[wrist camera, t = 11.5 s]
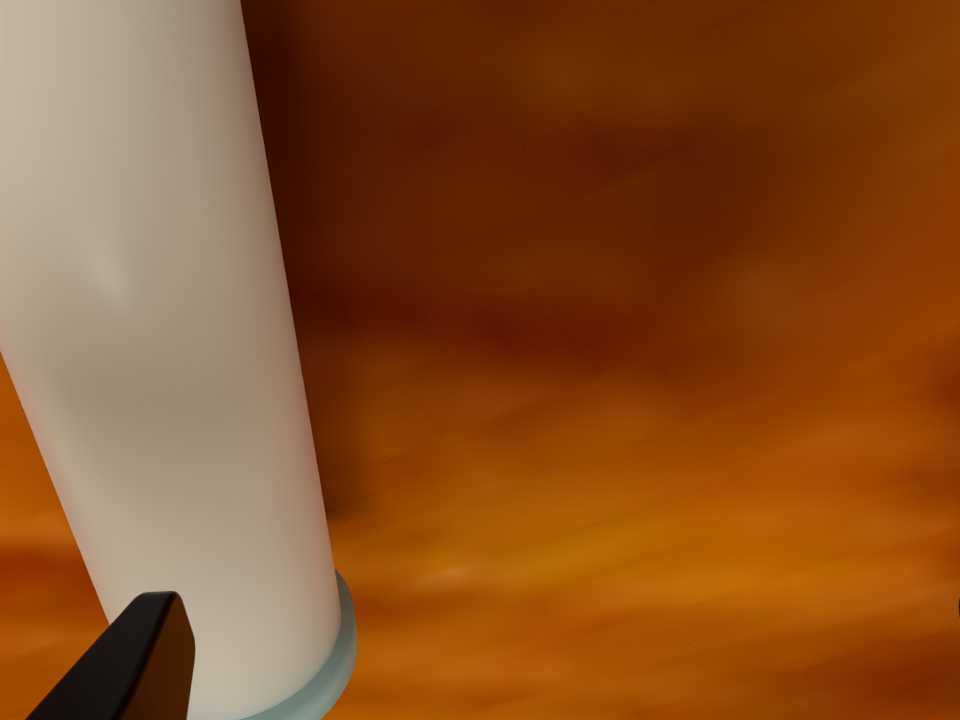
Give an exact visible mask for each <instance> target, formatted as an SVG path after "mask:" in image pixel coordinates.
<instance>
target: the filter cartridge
mask: <svg viewBox="0 0 960 720" xmlns="http://www.w3.org/2000/svg"><path fill="white" fill-rule="evenodd" d="M0 351H1V354H2V356H3V359H4V361H5V364H6V366H7V369H8V371H9V374H10V376H11V379H12V382H13V384H14V387H15V389H16V392H17V394H18V397H19V399H20V402H21V404H22V407H23V409H24V412H25V414H26V417H27V419H28V422H29V424H30V427H31V429H32V432H33V434H34V437H35V439H36V442H37V444H38V447H39V449H40V452H41V454H42V457H43V459H44V462H45V464H46V467H47V469H48V472H49V474H50V477H51V479H52V482H53V484H54V487H55V489H56V492H57V494H58V497H59V499H60V502H61V504H62V507H63V509H64V512H65V514H66V517H67V519H68V522H69V525H70V527H71V530H72V532H73V535H74V537H75V540H76V542H77V545H78V547H79V550H80V552H81V555H82V557H83V560H84V562H85V565H86V567H87V570H88V572H89V575H90V577H91V580H92V582H93V585H94V587H95V590H96V592H97V595H98V597H99V600H100V602H101V605H102V607H103V610H104V612H105V615H106V617H107V620H108V622H109V625H111V623H112V622H113V621H114V620H115V619H116V618H117V617H118V616H119V615H120V614H121V612H122V611H123V610H124V609H125V608H126V607H127V606H128V605H129V604H130V602H131V601H132V600H133V599H134V598H135V597H137V596H138V595H139V594H141V593H144V592H157V591H176V592H177V593H178V594H179V595H180V596H181V598H182V600H183V603H184V606H185V609H186V613H187V616H188V619H189V622H190V625H191V628H192V631H193V634H194V638H195V648H196V651H195V663H194V670H193V677H192V685H191V692H190V699H189V706H188V714H187V720H320V719H321V718H322V717H323V716H324V715H325V714H326V713H327V712H328V711H329V710H330V709H331V708H332V706H333V705H334V704H335V703H336V701H337V700H338V699H339V697H340V696H341V694H342V693H343V691H344V689H345V688H346V686H347V684H348V682H349V680H350V677H351V675H352V673H353V670H354V666H355V663H356V659H357V652H358V633H357V626H356V620H355V613H354V607H353V601H352V597H351V594H350V591H349V589H348V586H347V585H346V583H345V581H344V579H343V578H342V577H341V575H340V574H339V573H338V572H337V570H336V569H335V568H334V562H333V556H332V550H331V544H330V538H329V532H328V526H327V520H326V514H325V508H324V502H323V496H322V490H321V484H320V478H319V472H318V466H317V460H316V454H315V448H314V442H313V436H312V430H311V424H310V418H309V412H308V406H307V400H306V394H305V388H304V382H303V376H302V370H301V364H300V358H299V352H298V346H297V340H296V334H295V328H294V322H293V316H292V310H291V304H290V298H289V292H288V286H287V280H286V273H285V267H284V261H283V255H282V249H281V243H280V237H279V231H278V225H277V219H276V213H275V207H274V201H273V195H272V189H271V183H270V177H269V171H268V165H267V159H266V153H265V147H264V141H263V135H262V129H261V123H260V117H259V111H258V105H257V99H256V93H255V87H254V81H253V75H252V69H251V63H250V57H249V51H248V45H247V39H246V33H245V27H244V21H243V15H242V9H241V3H240V0H0Z"/></svg>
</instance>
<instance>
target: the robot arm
mask: <svg viewBox="0 0 960 720" xmlns="http://www.w3.org/2000/svg"><path fill="white" fill-rule="evenodd" d="M959 615H960V599H959ZM195 651H196V648H195V638H194V634H193V631H192V628H191V625H190V622H189V619H188V616H187V613H186V609H185V606H184V603H183V600H182V598H181V596H180V595H179V594H178V593H177V592H176V591H157V592H144V593H141V594H139V595H138V596H137V597H135V598H134V599H133V600H132V601H131V602H130V604H129V605H128V606H127V607H126V608H125V609H124V610H123V611H122V612H121V614H120V615H119V616H118V617H117V618H116V619H115V620H114V621H113V622H112V623H111V625H110V626H109V627H108V628H107V629H106V630H105V631H104V632H103V633H102V635H101V636H100V637H99V638H98V639H97V640H96V641H95V642H94V643H93V645H92V646H91V647H90V648H89V649H88V650H87V651H86V652H85V653H84V654H83V656H82V657H81V658H80V659H79V660H78V661H77V662H76V663H75V664H74V666H73V667H72V668H71V669H70V670H69V671H68V672H67V673H66V674H65V676H64V677H63V678H62V679H61V680H60V681H59V682H58V683H57V684H56V685H55V687H54V688H53V689H52V690H51V691H50V692H49V693H48V694H47V695H46V697H45V698H44V699H43V700H42V701H41V702H40V703H39V704H38V705H37V707H36V708H35V709H34V710H33V711H32V712H31V713H30V714H29V715H28V716H27V718H26V719H25V720H187V714H188V706H189V699H190V692H191V685H192V677H193V670H194V663H195Z"/></svg>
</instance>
